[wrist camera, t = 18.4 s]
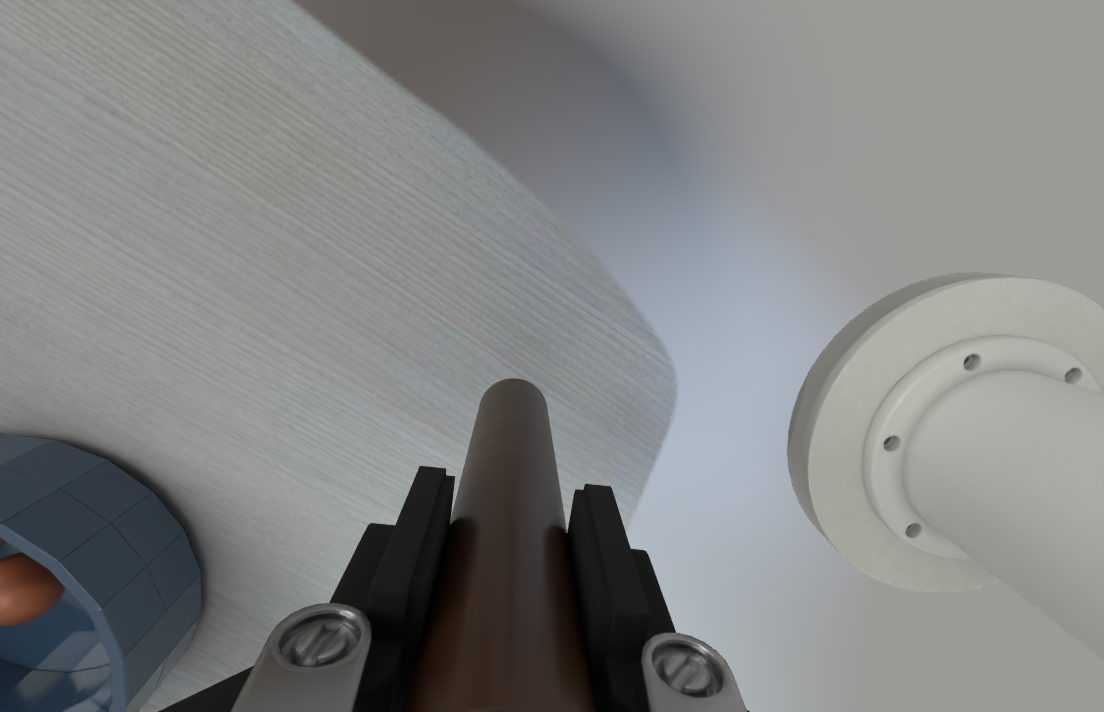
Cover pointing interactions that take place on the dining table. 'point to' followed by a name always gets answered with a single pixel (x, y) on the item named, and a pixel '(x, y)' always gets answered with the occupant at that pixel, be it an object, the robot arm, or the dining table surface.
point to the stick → (505, 577)
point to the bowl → (92, 582)
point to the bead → (26, 589)
